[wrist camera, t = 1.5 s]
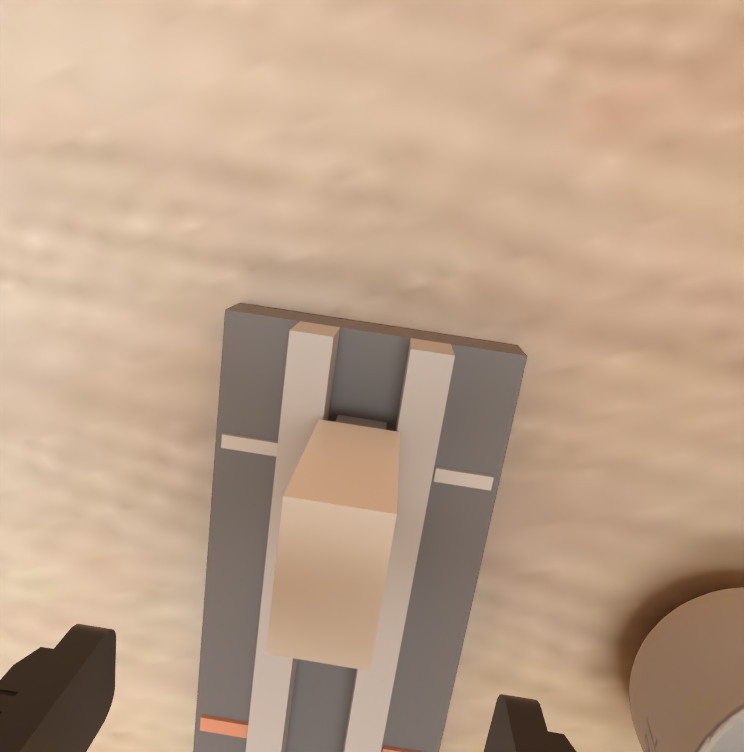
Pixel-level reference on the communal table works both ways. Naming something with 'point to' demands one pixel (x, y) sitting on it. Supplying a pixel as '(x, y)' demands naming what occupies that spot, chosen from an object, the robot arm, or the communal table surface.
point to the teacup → (692, 678)
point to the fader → (335, 544)
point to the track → (438, 539)
